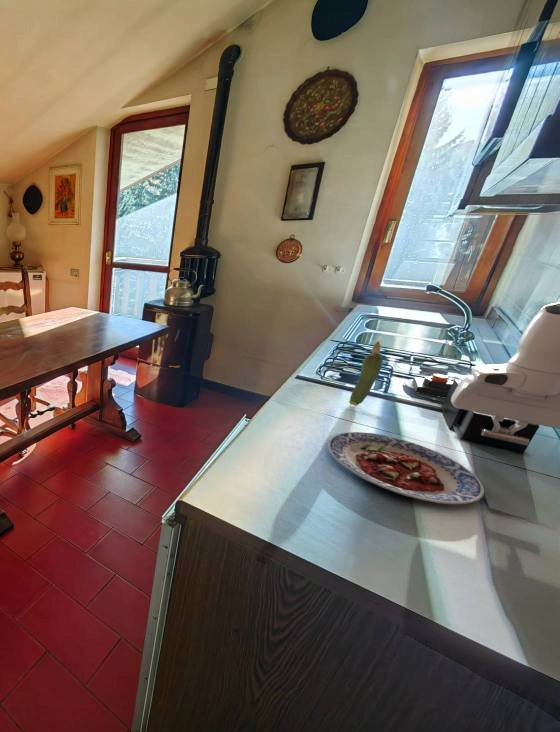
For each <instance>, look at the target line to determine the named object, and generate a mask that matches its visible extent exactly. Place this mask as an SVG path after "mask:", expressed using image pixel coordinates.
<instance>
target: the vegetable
mask: <svg viewBox="0 0 560 732" xmlns="http://www.w3.org/2000/svg"><path fill="white" fill-rule="evenodd" d="M380 353H381V343H380V341H378V340H377V341H376V342H375V343H374V345H373V346H372V349H371V353H369V354H367V355H365V357H364V359H363V360H362V362H361V363H362V364H361V369H360V375H359V377H358V381H357V382H356V384H355V386H354V387H353V390H352V392H351V395H350V398H349V401H348V403H349V405H351V406H354V407H358V406H359V405H360V404H361V403H363V402H364V400H365V399H366V398H367V397H368V395H369V394H370V391H371V389H372V387H373V386H374V384H375V382H376V380H377V378H378V376H379V374H380V372H381V369H382V366H383V363H384V362H383V361H384V360H383V357H382V355H380Z"/></svg>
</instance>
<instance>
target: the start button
mask: <svg viewBox="0 0 560 732" xmlns="http://www.w3.org/2000/svg"><path fill="white" fill-rule="evenodd" d="M431 376H432V380H434V381H437V382H443V383H447V381H448V380H449V378H450V376H448V375H445V374H441V373H433V374H432V375H431Z"/></svg>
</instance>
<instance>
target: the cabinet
mask: <svg viewBox="0 0 560 732" xmlns="http://www.w3.org/2000/svg"><path fill="white" fill-rule="evenodd" d="M462 380H463V379H457V378H455V379H453V381H452V382H453V384H452V386H451V388H450V390H449V393H448V395H447V397H446V398H444V402H443V403H442V404H441V405H442V406H441V408H440V411H441V413H442V416H443V419H444V420H445V423H446V425H447V427H448V429H449V430H450V431H452V432H453V431H454V432H456V429H455V428H454V427H456V426H458V425H457V423H458V421H459V419H460V417H461V414H462V412H463V410H464V409H460V408H456V407H454V405H453V404H452V402H451V397H452V395H453V393H454V391H455V390H456V388H457V387H458V385H459V384H460V383H461V381H462Z"/></svg>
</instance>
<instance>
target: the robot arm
mask: <svg viewBox="0 0 560 732" xmlns="http://www.w3.org/2000/svg"><path fill="white" fill-rule="evenodd" d="M517 345H518V346H517V348H516V349H517V350H515V351H516V352H515V353H514V354H513V355H512V356H511V357H510V358H509V359H508V361H507V362H506V363H502V364H501V363H500V364H484V365H474V366H473V367H472V369H471V375H469V376H466V377H465V378H463V379H461V380H462V381H461V383H460V384H459V385H458V387H457V388H456V390H455V391H454V393H453V395H452V397H451V402H452V404H453V405H454V407H456V408H460V409H464V410H469V411H474V412H479V413H484V414H489V415H492V416H491V417H492V420H493V423H494V427H493V429H492V431H494V432H499V433H503V434H508V435H513V434H514V432H516V431H518V430H521V429H523V428H525V427H526V426H527V425H528V423H533V424H538V425H539V426H543V427H548V428H553V429H557V430H560V302H553V303H549V304H546V305H544V306H542V307H541V308H540V309H539V310H538V311H537V312H536V314H535V315H534V316H533V317H532V319H531V320H530V321H529V322H528V324H527V326H526V328H525V329H524V331H523V332H522V335H521V336H520V338H519V340H518V343H517ZM504 418H508V419H513V420H515V422H516V424H514V425H512V426H510V427H509V428H508V427H503V426H500V424H499V421H501V422H502V421H503V420H504Z"/></svg>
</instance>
